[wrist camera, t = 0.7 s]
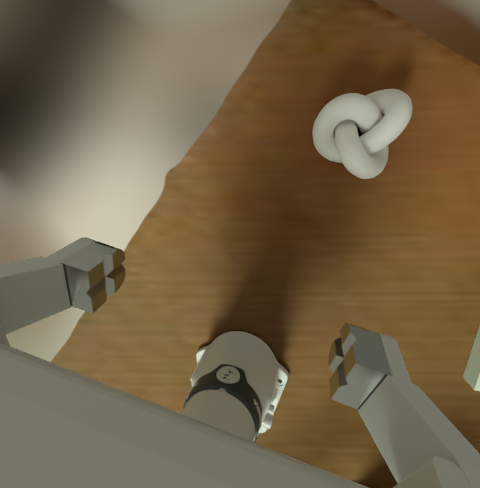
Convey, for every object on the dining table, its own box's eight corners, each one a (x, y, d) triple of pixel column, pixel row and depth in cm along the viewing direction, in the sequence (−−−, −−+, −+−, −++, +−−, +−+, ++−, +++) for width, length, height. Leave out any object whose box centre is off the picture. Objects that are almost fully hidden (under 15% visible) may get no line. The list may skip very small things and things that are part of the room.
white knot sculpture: (355, 77, 39) (369, 44, 30) (419, 128, 38) (451, 109, 29) (302, 141, 42) (302, 128, 33) (360, 189, 41) (374, 188, 33)
